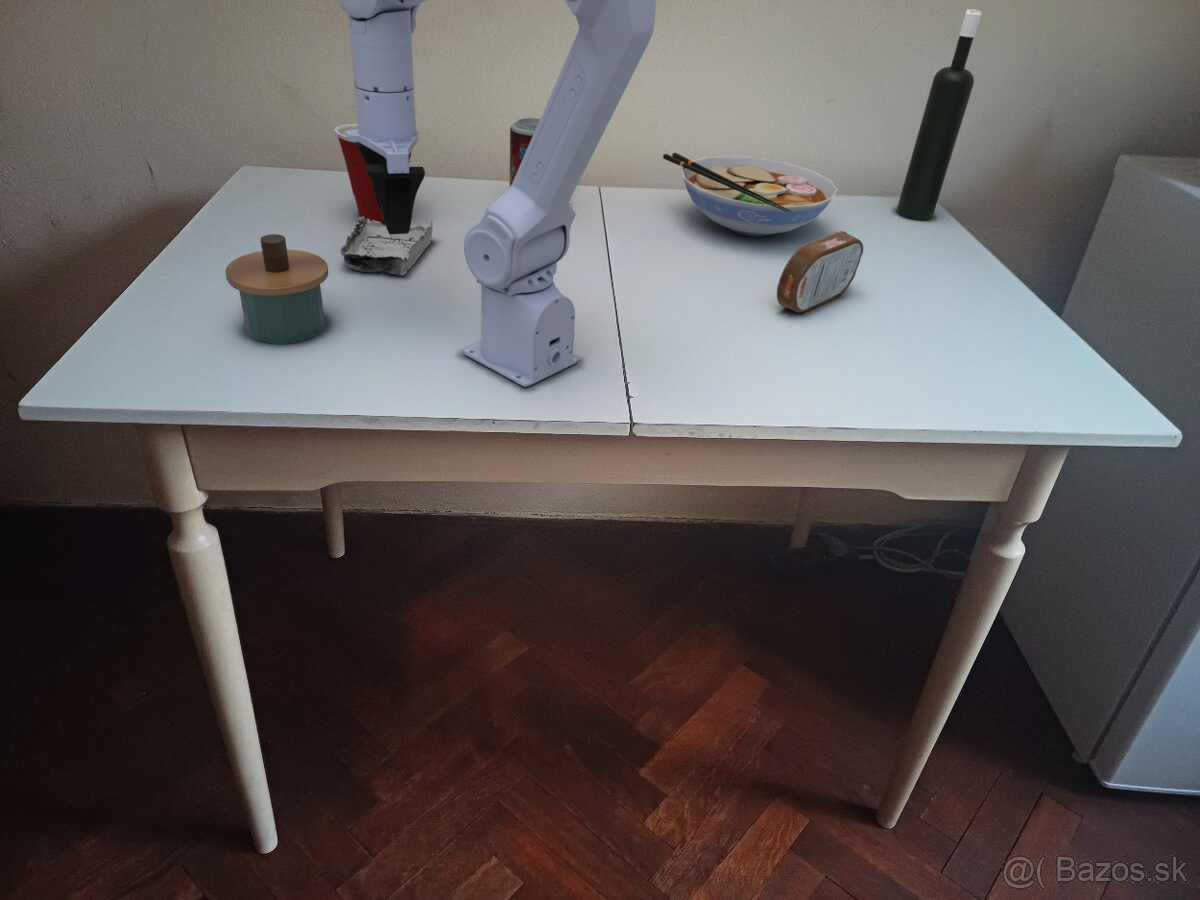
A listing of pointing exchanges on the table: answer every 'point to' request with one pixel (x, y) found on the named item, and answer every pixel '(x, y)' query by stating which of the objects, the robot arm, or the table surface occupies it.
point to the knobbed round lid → (276, 269)
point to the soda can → (520, 142)
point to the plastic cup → (359, 176)
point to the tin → (819, 271)
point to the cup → (283, 316)
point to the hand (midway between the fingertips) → (393, 219)
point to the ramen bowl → (755, 192)
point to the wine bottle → (939, 129)
